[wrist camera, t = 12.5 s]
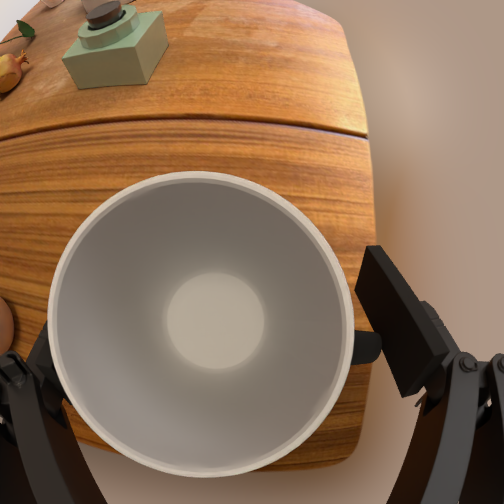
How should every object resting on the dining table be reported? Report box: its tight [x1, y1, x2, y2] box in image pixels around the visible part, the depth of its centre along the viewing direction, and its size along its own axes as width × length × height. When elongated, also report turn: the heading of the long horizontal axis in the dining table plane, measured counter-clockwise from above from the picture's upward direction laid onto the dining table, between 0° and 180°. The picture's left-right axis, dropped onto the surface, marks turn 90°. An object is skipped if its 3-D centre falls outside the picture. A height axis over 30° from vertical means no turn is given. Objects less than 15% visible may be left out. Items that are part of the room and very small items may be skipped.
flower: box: [0, 20, 35, 44], centre depth 24 cm, size 15×15×14 cm
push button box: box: [62, 5, 168, 89], centre depth 23 cm, size 10×8×8 cm
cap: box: [86, 1, 124, 31], centre depth 18 cm, size 4×4×2 cm
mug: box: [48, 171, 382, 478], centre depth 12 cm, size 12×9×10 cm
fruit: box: [0, 49, 29, 93], centre depth 23 cm, size 7×7×10 cm
